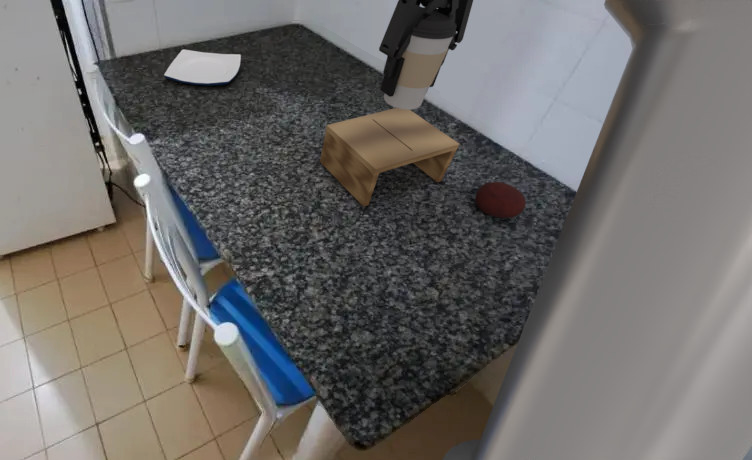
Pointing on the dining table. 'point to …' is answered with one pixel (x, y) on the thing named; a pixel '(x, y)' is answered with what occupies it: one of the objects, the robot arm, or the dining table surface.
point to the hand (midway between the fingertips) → (406, 88)
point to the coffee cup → (422, 60)
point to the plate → (203, 68)
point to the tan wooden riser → (383, 149)
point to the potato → (500, 200)
